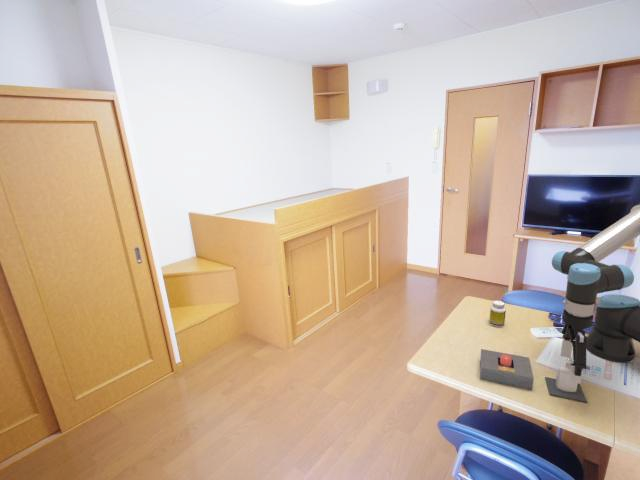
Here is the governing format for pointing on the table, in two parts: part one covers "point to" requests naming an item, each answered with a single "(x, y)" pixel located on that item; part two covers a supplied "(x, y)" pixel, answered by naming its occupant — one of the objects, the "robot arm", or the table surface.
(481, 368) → the grey flat block
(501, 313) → the pill bottle
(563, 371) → the eye dropper bottle
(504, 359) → the plunger
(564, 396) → the mat
